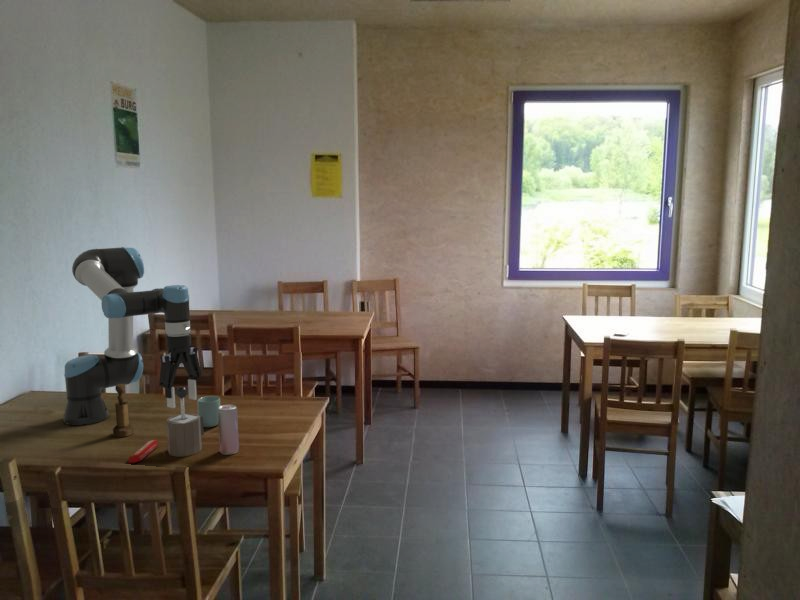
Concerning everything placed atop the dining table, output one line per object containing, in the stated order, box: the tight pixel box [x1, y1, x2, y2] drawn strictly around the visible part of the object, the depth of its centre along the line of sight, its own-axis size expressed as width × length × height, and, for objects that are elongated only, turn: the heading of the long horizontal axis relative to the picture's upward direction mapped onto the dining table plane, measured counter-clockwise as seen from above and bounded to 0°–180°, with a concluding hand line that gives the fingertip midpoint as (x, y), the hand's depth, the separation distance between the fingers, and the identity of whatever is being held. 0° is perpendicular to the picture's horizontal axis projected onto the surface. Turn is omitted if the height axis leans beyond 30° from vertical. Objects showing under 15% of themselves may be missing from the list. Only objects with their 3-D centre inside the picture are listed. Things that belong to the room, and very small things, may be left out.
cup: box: [196, 395, 221, 428], centre depth 229 cm, size 8×8×10 cm
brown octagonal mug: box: [165, 413, 205, 458], centre depth 207 cm, size 10×13×11 cm
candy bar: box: [128, 439, 159, 464], centre depth 203 cm, size 16×4×3 cm, turn 177°
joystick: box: [175, 386, 189, 420], centre depth 205 cm, size 7×7×19 cm
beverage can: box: [217, 403, 240, 456], centre depth 204 cm, size 6×6×15 cm
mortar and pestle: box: [112, 384, 134, 438], centre depth 221 cm, size 7×6×18 cm
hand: (182, 403), depth 204 cm, fingers open, 9 cm apart
